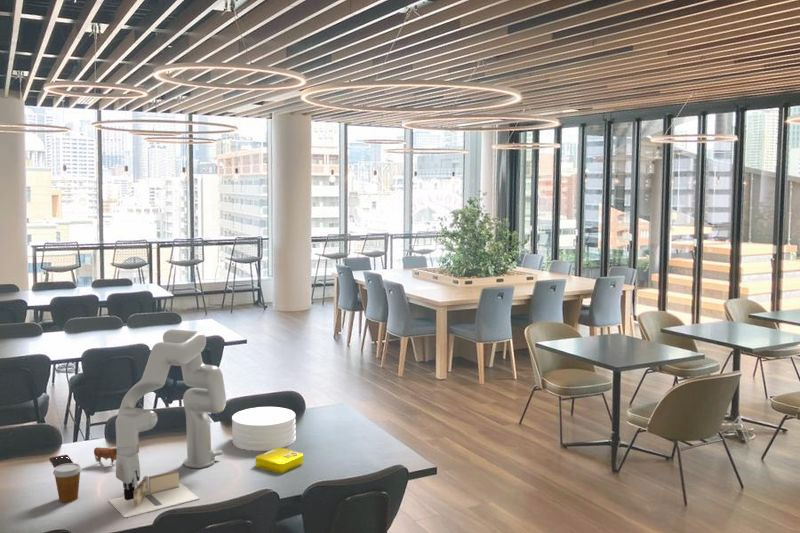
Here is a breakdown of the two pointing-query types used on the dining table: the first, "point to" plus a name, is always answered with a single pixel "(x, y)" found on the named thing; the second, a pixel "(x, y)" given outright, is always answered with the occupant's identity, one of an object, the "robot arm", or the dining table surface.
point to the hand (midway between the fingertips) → (129, 498)
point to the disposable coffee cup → (67, 481)
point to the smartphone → (60, 460)
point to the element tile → (279, 460)
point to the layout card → (156, 495)
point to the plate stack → (263, 428)
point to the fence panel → (140, 492)
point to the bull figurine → (105, 454)
